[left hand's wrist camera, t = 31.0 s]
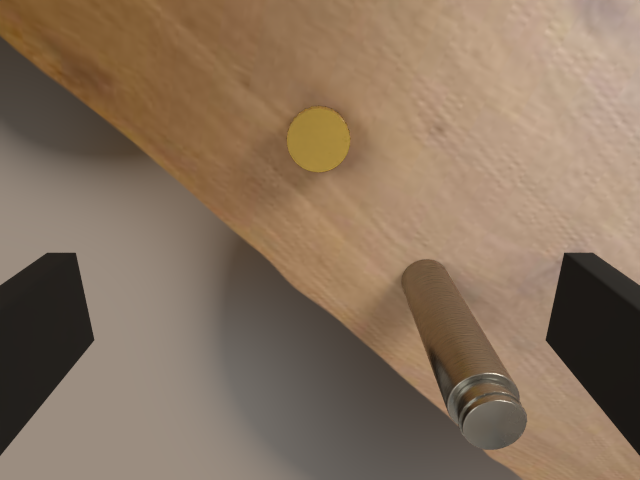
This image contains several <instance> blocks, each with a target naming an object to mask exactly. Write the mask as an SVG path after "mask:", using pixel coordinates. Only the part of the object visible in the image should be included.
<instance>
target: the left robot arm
mask: <svg viewBox="0 0 640 480" xmlns="http://www.w3.org/2000/svg"><path fill="white" fill-rule="evenodd" d="M93 341H94V336H93V332H92V327H91V322H90V318H89V313H88V308H87V304H86V299H85V294H84V289H83V285H82V280H81V275H80V271H79V266H78V262H77V257H76V253H46V254H45V255H43V256H42V257H40V258H39V259H38V260H36V261H35V262H33V263H32V264H30V265H29V266H28V267H26V268H25V269H23V270H22V271H20V272H19V273H17V274H16V275H15V276H13V277H12V278H10V279H9V280H7V281H6V282H5V283H3V284H2V285H0V455H1V454H2V453H3V452H4V450H5V449H6V448H7V447H8V446H9V444H10V443H11V442H12V441H13V439H14V438H15V437H16V436H17V434H18V433H19V432H20V431H21V430H22V428H23V427H24V426H25V425H26V423H27V422H28V421H29V420H30V418H31V417H32V416H33V415H34V414H35V412H36V411H37V410H38V409H39V407H40V406H41V405H42V404H43V403H44V401H45V400H46V399H47V398H48V396H49V395H50V394H51V393H52V392H53V390H54V389H55V388H56V387H57V385H58V384H59V383H60V382H61V380H62V379H63V378H64V377H65V376H66V374H67V373H68V372H69V371H70V369H71V368H72V367H73V366H74V364H75V363H76V362H77V361H78V360H79V358H80V357H81V356H82V355H83V353H84V352H85V351H86V350H87V348H88V347H89V346H90V345H91V344H92V342H93ZM546 341H547V342H548V344H549V345H550V346H551V347H552V349H553V350H554V351H555V352H556V353H557V355H558V356H559V357H560V358H561V360H562V361H563V362H564V363H565V364H566V366H567V367H568V368H569V369H570V371H571V372H572V373H573V374H574V376H575V377H576V378H577V379H578V380H579V382H580V383H581V384H582V385H583V387H584V388H585V389H586V390H587V392H588V393H589V394H590V395H591V396H592V398H593V399H594V400H595V401H596V403H597V404H598V405H599V406H600V407H601V409H602V410H603V411H604V412H605V414H606V415H607V416H608V417H609V419H610V420H611V421H612V422H613V423H614V425H615V426H616V427H617V428H618V430H619V431H620V432H621V433H622V434H623V436H624V437H625V438H626V439H627V441H628V442H629V443H630V444H631V446H632V447H633V448H634V449H635V450H636V452H637V453H638V454H639V455H640V285H638V284H637V283H635V282H634V281H633V280H631V279H630V278H628V277H627V276H625V275H624V274H623V273H621V272H620V271H618V270H617V269H615V268H614V267H612V266H611V265H610V264H608V263H607V262H605V261H604V260H602V259H601V258H600V257H598V256H597V255H595V254H594V253H564V257H563V261H562V266H561V271H560V275H559V280H558V285H557V289H556V294H555V299H554V304H553V308H552V313H551V318H550V322H549V327H548V332H547V336H546Z"/></svg>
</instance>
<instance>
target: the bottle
mask: <svg viewBox="0 0 640 480" xmlns="http://www.w3.org/2000/svg"><path fill="white" fill-rule="evenodd" d="M402 288H403V291H404V293H405V296H406V299H407V301H408V304H409V307H410V310H411V312H412V315H413V318H414V321H415V323H416V326H417V329H418V331H419V334H420V337H421V340H422V342H423V345H424V348H425V351H426V353H427V356H428V359H429V361H430V364H431V367H432V370H433V372H434V375H435V378H436V380H437V383H438V386H439V389H440V391H441V394H442V397H443V400H444V402H445V405H446V408H447V410H448V413H449V415H450V417H451V418H452V420H453V421H454V422H455V423H457V424H458V425H459V429H460V431H461V433H462V435H463V436H464V437H465V438H466V439H467V441H468V442H469V443H471V444H472V445H473V446H475V447H478V448H481V449H486V450H494V449H500V448H504V447H506V446H509V445H510V444H512V443H514V442H515V441H516V440H517V439H519V437H520V436H521V435H522V434H523V432H524V430H525V427H526V423H527V414H526V412H525V410H524V408H523V407H522V405H521V403H520V401H519V391H518V388H517V387H516V385H515V383H514V382H513V380H512V378H511V377H510V375H509V373H508V372H507V370H506V368H505V367H504V365H503V363H502V362H501V360H500V359H499V357H498V355H497V354H496V352H495V350H494V349H493V347H492V345H491V344H490V342H489V340H488V339H487V337H486V336H485V334H484V332H483V331H482V329H481V327H480V326H479V324H478V322H477V321H476V319H475V317H474V316H473V314H472V312H471V311H470V309H469V308H468V306H467V304H466V303H465V301H464V299H463V298H462V296H461V294H460V293H459V291H458V289H457V288H456V286H455V284H454V283H453V281H452V280H451V278H450V276H449V275H448V273H447V271H446V270H445V268H444V267H443V266H442V265H441V264H440V263H438V262H436V261H433V260H420V261H417V262H415V263H413V264H411V265H410V266H409V267H408V268H407V269H406V270H405V272H404V274H403V276H402Z"/></svg>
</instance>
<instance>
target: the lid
mask: <svg viewBox="0 0 640 480" xmlns="http://www.w3.org/2000/svg"><path fill="white" fill-rule="evenodd" d="M287 132H288V135H287V138H286V139H287V146H288V150H289V153H290V155H291V157H292V159H293V160H294V161H295V162H296V163H297V164H298V165H299V166H300V167H302V168H304V169H306V170H308V171H311V172H325V171H329V170H331V169H333V168H335V167H337V166H338V165H339V164H340V163H341V162H342V161H343V160H344V159H345V157H346V155H347V153H348V150H349V146H350V139H351V138H350V135H349V133H350V132H349V129H348V128H347V124H346V123H345V122H344V119H343V117H341V116H340V115H339V114H338V112H337V113H336V112H335V111H333V109H332V108H331V109H329V108H326V106H325V107H321V106H316V107H313V106H311V108H308V109H306V108H305V110H304V111H302V112H299V114H298V115H297V116H296V117H294V119H293V122H291V124H290V128H289V129H288V131H287Z"/></svg>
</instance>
